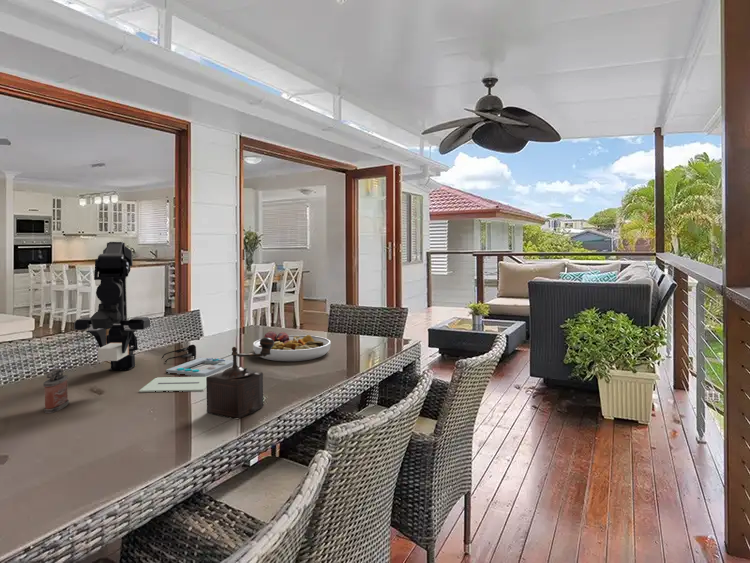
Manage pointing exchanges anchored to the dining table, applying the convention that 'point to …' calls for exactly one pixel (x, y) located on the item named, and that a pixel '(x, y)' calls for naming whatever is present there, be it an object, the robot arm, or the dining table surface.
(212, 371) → the electronic device
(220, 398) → the manual coffee grinder
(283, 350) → the bowl
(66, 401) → the lighter
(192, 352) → the sunglasses
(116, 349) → the block
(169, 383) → the mat
